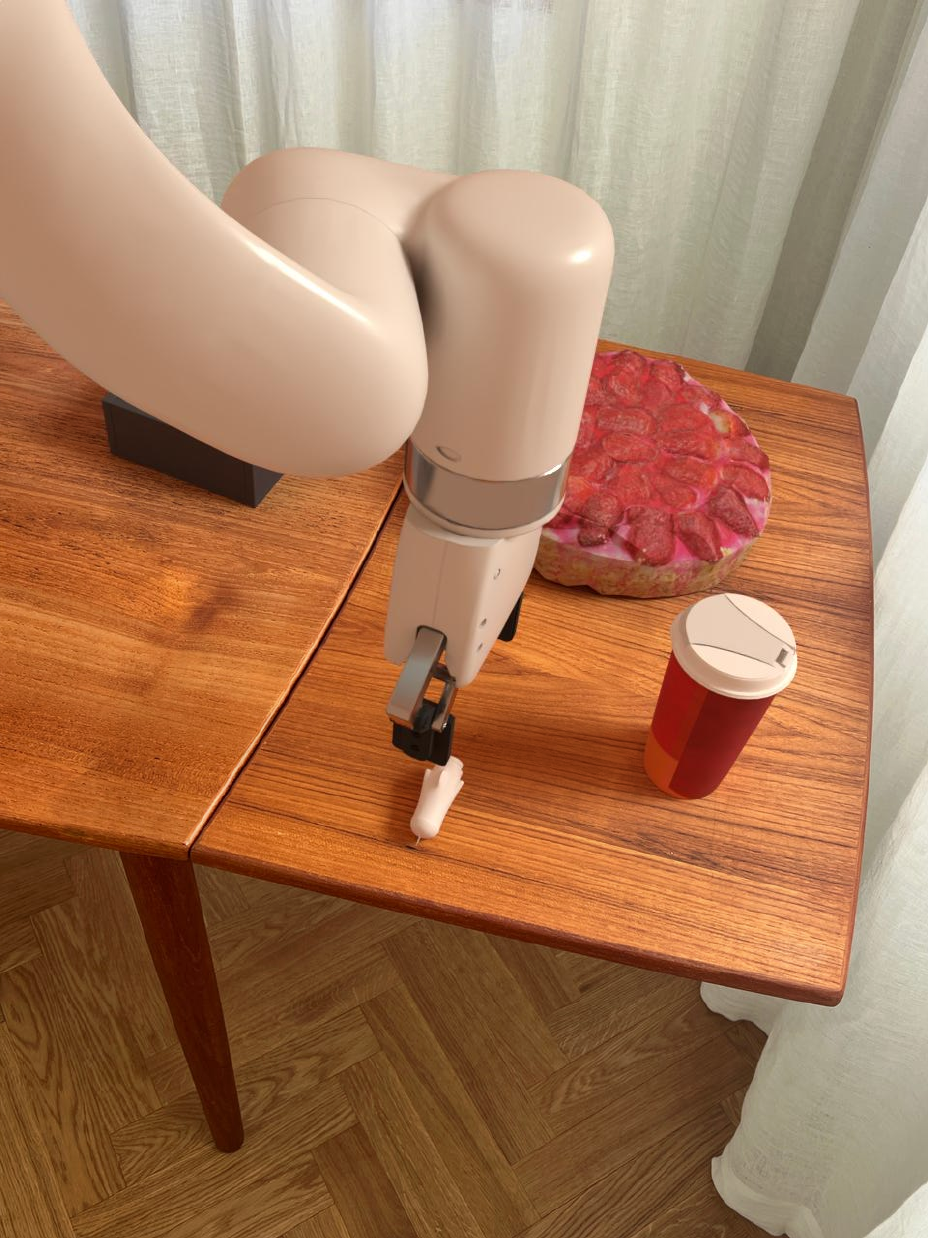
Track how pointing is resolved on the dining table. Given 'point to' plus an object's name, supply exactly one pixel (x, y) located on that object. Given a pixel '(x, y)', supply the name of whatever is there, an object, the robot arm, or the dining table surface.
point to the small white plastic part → (436, 797)
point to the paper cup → (716, 690)
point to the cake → (655, 485)
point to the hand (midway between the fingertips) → (456, 689)
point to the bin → (182, 454)
